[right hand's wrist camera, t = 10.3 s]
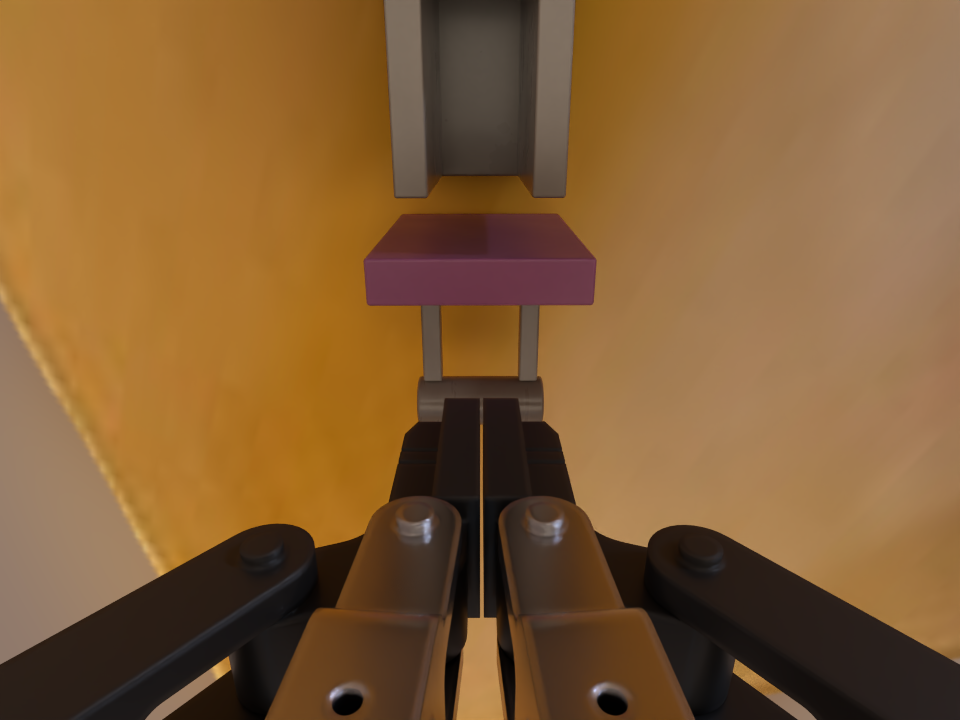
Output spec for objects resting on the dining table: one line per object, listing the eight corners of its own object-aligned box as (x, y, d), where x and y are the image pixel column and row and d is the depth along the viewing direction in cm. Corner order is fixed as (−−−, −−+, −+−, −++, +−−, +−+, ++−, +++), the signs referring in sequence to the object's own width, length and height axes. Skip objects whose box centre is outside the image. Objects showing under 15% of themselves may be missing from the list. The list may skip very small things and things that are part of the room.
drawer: (551, 376, 24) (581, 483, 17) (409, 376, 24) (379, 483, 17) (587, -437, 16) (679, -912, 8) (369, -436, 16) (275, -911, 8)
